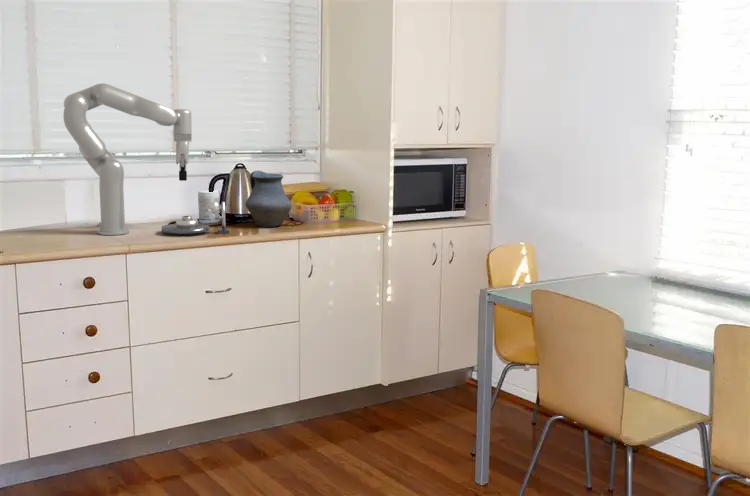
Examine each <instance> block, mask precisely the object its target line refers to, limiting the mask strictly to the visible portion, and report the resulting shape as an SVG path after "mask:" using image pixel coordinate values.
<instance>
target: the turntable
mask: <svg viewBox="0 0 750 496" xmlns="http://www.w3.org/2000/svg"><path fill="white" fill-rule="evenodd" d="M160 228H161V232H162V233H165V234H173V235H177V234H192V235H194V234H193V233H197V234H202V233H207V232H209V231H210V230H211V228H210V225H208V224H207V223H198V227H197V228H189V229H182V228H176V223H171V224H164V225H162V226H161V227H160Z"/></svg>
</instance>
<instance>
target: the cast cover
mask: <svg viewBox="0 0 750 496" xmlns="http://www.w3.org/2000/svg"><path fill="white" fill-rule="evenodd" d="M175 224H176V228H182V229H189V228H197V227H198V224H199V219H197V218H192V215H182V216H181V218H178V219H176V220H175Z"/></svg>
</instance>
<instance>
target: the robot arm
mask: <svg viewBox="0 0 750 496" xmlns="http://www.w3.org/2000/svg"><path fill="white" fill-rule="evenodd" d="M102 105H103V106H106V107H108V108H111V109H114V110H116V111H118V112H119V111H120V112H122V113H125V114H127V115H130V116H134V117H140V118H144V119H147V120H150V121H152V122H155V123H156V124H157V125H159V126H163V127H171V126H173V142H175V164H176V165H178V164H179V171H178V180H179V181H182V182H183V181H185V182H186V181H187V179H188V174H187V173H188V171H187V165H188V164H189V156H190V155H189V153H190V152H189V151H190V150H189V149H190V148H189V147H190V145H189V144H190V143H191V142H192V138H193V137H192V111H191V109H187V108H186V109H184V108H183V109H182V108H177V109H176V108H175V109H173V108H171V107H169V106H166V105H163V104H160V103H157V102H155V101H152V100H150V99H147V98H144V97H142V96H139V95H137V94H134V93H132V92H128V91H126V90H124V89H122V88H118V87H116V86H114V85H111V84H108V83H97V84H95V85H92V86H90V87H88V88H84V89H82V90H79V91H76V92H73V93H70V94H69V95H67V96H66V97H65V99H64V100H63V107H64V109H63V122H64V126H65V128H66V130H67V131H68V133H69V135H70V136H71V137H72V139H73V140H74V141H75V142H76V144H77V145H78V149H79V153H80V154H81V156H82V157H83V158H84V160H85V161H86V162H87V163H88V164H89V166H90V167H91V168H92V170H93V171H94V172H95V173H96V174H97V176H98V177H99V187H98V189H99V208H100V222H98V223H96V227H97V228H99V229H98V230H97V234H98V235H103V236H117V235H119V236H120V235H126V234H129V233H130V229H128V228H126V221H125V219H126V218H125V214H126V213H125V197H124V179H125V178H124V177H125V169H124V166H123V164H122V163H121V162H120V160H118V159H116V158H114V157H113V156H112V155H111V154H110V152H109V151H108V149H107V147H106V143H105V142H104V141H103V140H102V138H100V136H99V135H98V134H97V132H96V131H95V130H94V129H93V127H92V125H91V124H90V123H89V121H88V119H87V111H90V110H92V109H93V110H94V109H96V108H98V107H100V106H102Z"/></svg>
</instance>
